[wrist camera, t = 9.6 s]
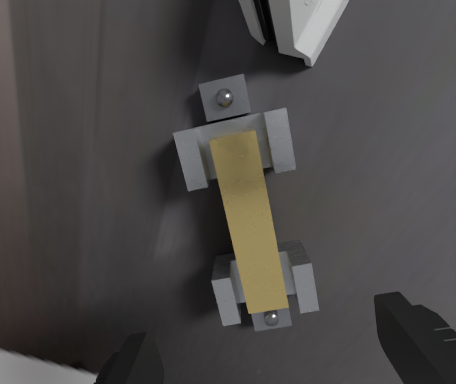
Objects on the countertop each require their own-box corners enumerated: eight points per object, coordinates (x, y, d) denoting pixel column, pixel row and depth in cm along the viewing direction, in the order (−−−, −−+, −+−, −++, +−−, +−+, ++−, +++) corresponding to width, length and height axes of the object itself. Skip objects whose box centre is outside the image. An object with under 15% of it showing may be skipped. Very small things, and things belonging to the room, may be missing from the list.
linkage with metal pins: (231, 321, 27) (230, 355, 23) (174, 93, 22) (161, 88, 18) (311, 308, 27) (324, 341, 23) (271, 70, 22) (278, 60, 18)
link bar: (247, 290, 25) (248, 314, 22) (212, 137, 21) (208, 140, 19) (282, 284, 24) (288, 307, 21) (253, 128, 21) (255, 130, 18)
